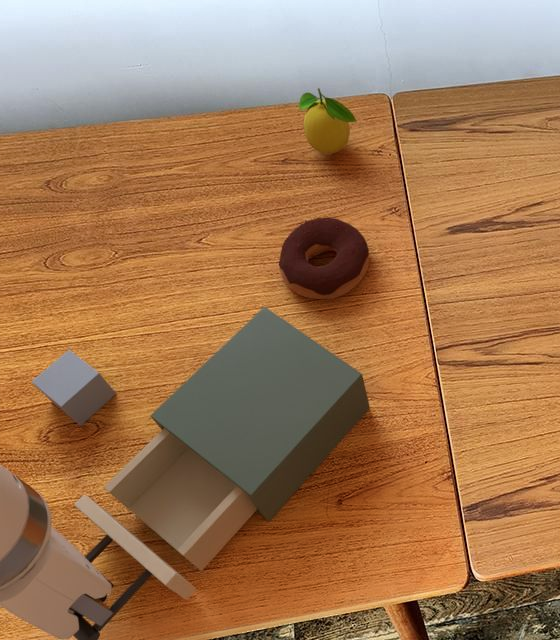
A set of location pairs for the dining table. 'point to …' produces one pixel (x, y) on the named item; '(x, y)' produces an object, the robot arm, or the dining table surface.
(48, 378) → the block
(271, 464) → the cabinet
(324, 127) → the lemon
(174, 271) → the dining table surface
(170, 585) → the drawer
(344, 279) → the donut
